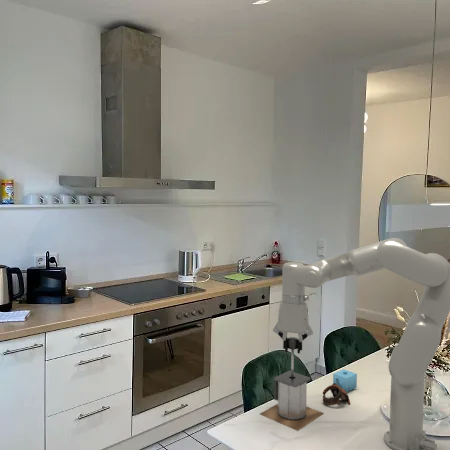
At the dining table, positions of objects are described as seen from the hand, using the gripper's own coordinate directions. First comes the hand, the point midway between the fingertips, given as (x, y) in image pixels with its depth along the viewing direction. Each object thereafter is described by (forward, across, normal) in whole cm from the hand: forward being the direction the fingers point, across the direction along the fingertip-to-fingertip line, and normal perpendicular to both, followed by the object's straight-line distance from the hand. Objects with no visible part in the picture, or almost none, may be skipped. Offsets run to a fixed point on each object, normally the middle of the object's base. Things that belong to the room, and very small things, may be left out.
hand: (292, 351), depth 154 cm
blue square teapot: (+24, -18, -27) cm, 40 cm away
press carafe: (+22, +1, -1) cm, 22 cm away
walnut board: (+23, 0, 0) cm, 23 cm away
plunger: (+12, 0, 0) cm, 12 cm away
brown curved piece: (+24, -15, -14) cm, 31 cm away
